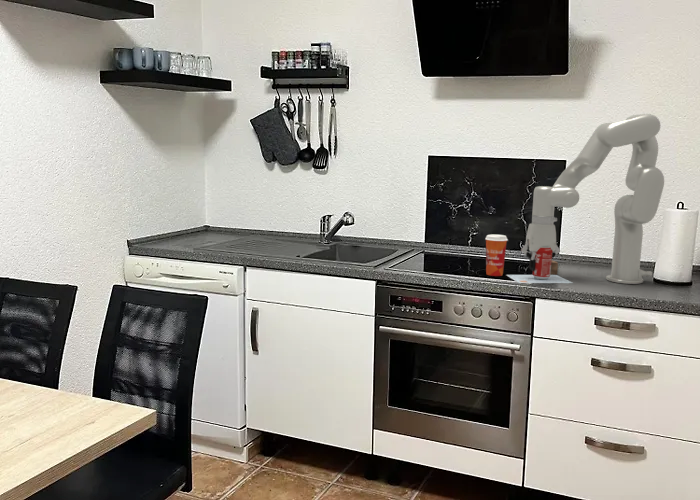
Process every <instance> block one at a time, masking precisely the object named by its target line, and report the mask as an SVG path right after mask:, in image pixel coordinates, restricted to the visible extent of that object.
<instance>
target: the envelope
mask: <svg viewBox="0 0 700 500" xmlns="http://www.w3.org/2000/svg"><path fill="white" fill-rule="evenodd" d="M505 276H507V277H508V278H509V279H511V280H514V281H515V282H517V283H518V284H573V282H572V281H570V280H568V279H566V278H564V277H561V276H560V275H558V274H557V275H550V277H549V278H548V279H537V278H535V277H534V276H533V275H532V274H505Z"/></svg>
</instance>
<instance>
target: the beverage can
mask: <svg viewBox="0 0 700 500" xmlns="http://www.w3.org/2000/svg"><path fill="white" fill-rule="evenodd" d="M534 260H535V271H532V274H531V275H533V276H534V277H535V278H537V279H548V278H549V277H550V273H551V262H552V260H553V258H552V249H551V247H541V248H540V249H539V250H538V251H537V252H536V255H535V258H534Z"/></svg>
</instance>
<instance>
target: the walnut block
mask: <svg viewBox="0 0 700 500" xmlns="http://www.w3.org/2000/svg"><path fill="white" fill-rule="evenodd" d="M558 266H559V262H557V261H556V260H553V259H552V262H551V273H550V275H558V270H559V269H558V268H559V267H558Z"/></svg>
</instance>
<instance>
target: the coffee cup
mask: <svg viewBox="0 0 700 500" xmlns="http://www.w3.org/2000/svg"><path fill="white" fill-rule="evenodd" d="M484 240H485V272H486V276H490V277H502V276H503V274H504V268H505V267H504V266H505V261H506V260H505V259H506V250H507V243H508V242H509V239H508V237H507V235H504V234H492V233H491V234H487V235H486V236H485V239H484Z"/></svg>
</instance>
